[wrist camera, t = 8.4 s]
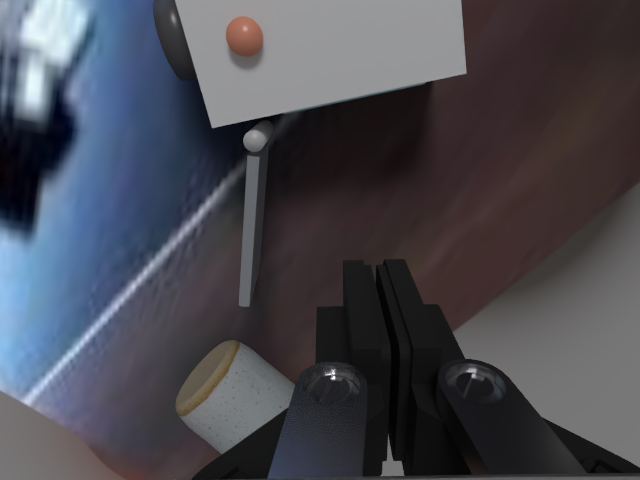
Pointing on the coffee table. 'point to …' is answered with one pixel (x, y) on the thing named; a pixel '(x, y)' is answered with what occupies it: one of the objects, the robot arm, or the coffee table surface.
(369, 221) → the coffee table surface
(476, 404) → the robot arm
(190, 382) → the ceramic mug
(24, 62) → the coffee table surface
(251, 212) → the side door
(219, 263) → the coffee table surface
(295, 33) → the camera body
